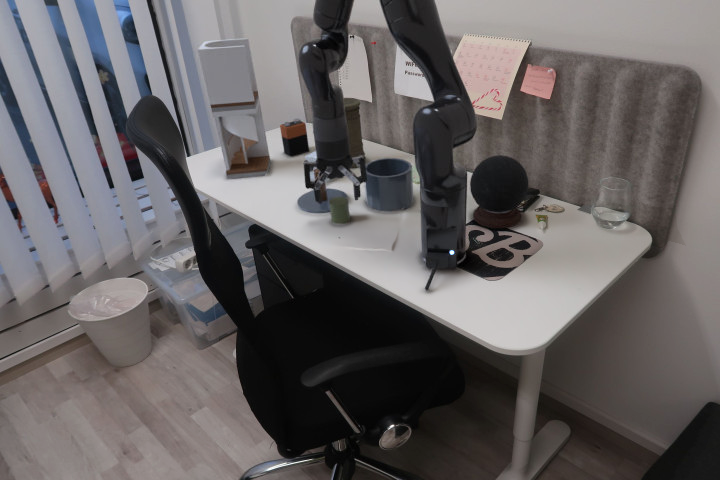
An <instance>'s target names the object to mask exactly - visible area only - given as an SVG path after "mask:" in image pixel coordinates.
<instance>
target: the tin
mask: <svg viewBox="0 0 720 480" xmlns="http://www.w3.org/2000/svg"><path fill="white" fill-rule="evenodd" d="M329 204H330V212H329V213H330V217H331V222H332V223H334V224H336V225H342V224H346V223H348V222H350V221H351V217H350V207H349V198H348V199H347V198H345V197H335V198H332V199H331V200H330V201H329Z"/></svg>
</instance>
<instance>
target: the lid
mask: <svg viewBox="0 0 720 480" xmlns="http://www.w3.org/2000/svg"><path fill="white" fill-rule="evenodd" d="M313 172H314V179H316V178H317V176H318V174H319V172H320V171H319V170H318V169H314V170H313ZM320 193H321V201H322V204H319V202H316V201H315V194H314V190H313V189H312V190H310V191H308V192H304V193H303V194H302V195H301V196H299V197H298V198H297V201H296V203H297V207H298V208H299V209H300V210H301V211H304V212H306V213H310V214H311V213H312V214H324V213H331V212H330V204H329V201H330V200H331V199H332V198H335V197H345V198H347V199H348V200H349V197H348V194H347V193H346V192H345V191H343V190H341V189H337V188H327V182H325V181H324V183H323V184H322V185H321V186H320Z"/></svg>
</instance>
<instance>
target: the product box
mask: <svg viewBox="0 0 720 480" xmlns="http://www.w3.org/2000/svg"><path fill="white" fill-rule="evenodd" d="M316 159H317V156H316V150H314V151H313V152H310V153H308V154H307V155H305V160H308V161H309V162H316ZM314 169H317V168H316V167H314V168H313V170H314ZM310 181H313V182H314V181H315V179H314V172H313V171H312V172H310ZM330 181H332V179H329V178H326V180H325V182H326V183H328V182H330Z"/></svg>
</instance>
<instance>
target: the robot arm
mask: <svg viewBox="0 0 720 480" xmlns="http://www.w3.org/2000/svg"><path fill="white" fill-rule="evenodd" d="M378 1H379V4H380V5H379V6H380V8H381V11H382V14H383V18H384V21H385V23H386V26H387V29H388V32H389V35H391V38H392V40H393V41H394V42H395V44H396V45H397V46H398V48H399V49H400V50H401V51H402V52H403V53H404V54H405V55H406V56H407V58H408V59H409V60H411V62H412V63H413V64H414V65H415V66H416V67H417V68H418V69H419V71H420V72H421V74H422V75H423V77H424V79H425V81H426V83H427V85H428V87H429V91H430V93H431V96H432V100H433V102H430V103H428V104H425V105H422V106H420V108H418V109H417V111H416V112H415V114H414V117H413V121H412V143H413V154H414V164H415V170H416V172H417V174H418V177H419V203H420V205H419V206H420V242H421V253H420V256H421V257H420V258H421V261H422V262H423V263H424V264H425V267H426V268H427V269H431V271H430V274H429V277H428V279H427V281H426V284H425V287H424V290H426V291H429V289H430V287H431V284H432V282H433V280H434V277H435V274H436V271H437V269H440V270H441V269H443V270H457V269H458V267H459V266H461V265H462V264H464V262H465V261H466V257H467V251H466V247H467V245H466V243H467V242H466V241H467V240H466V236H467V234H466V233H467V203H468V202H467V199H468V171H467V169H466V166H464V165H463V164H461V163H459V162H456V161H454V149H456V148H459V147H460V146H464V145H465V144H467V143H468V142H470V141H472V140H473V138H475V136H476V132H477V128H478V121H477V120H478V119H477V114H476V110H475V108H474V105H473V102H472V100H471V97H470V95H469V93H468V90H467V88H466V86H465V83H464V81H463V79H462V77H461V74H460V72H459V70H458V67H457V65H456V62H455V59H454V56H453V53H452V51H451V48H450V45H449V42H448V38H447V35H446V34H445V30H444V27H443V24H442V21H441V18H440V14H439V10H438V7H437V3H436V0H378ZM354 4H355V0H315V2H314V6H313V12H312V20H313V23H314V25H315V26H316V27H318V28H319V29H320V34H319V37H317V38H314V39H311V40H307V41H306V42H304V43H303V44H302V45H301V46H300V48H299V50H298V55H297V63H298V68H299V71H300V75H301V77H302V79H303V82H304V85H305V88H306V90H307V92H308V95H309V98H310V108H311V115H312V134H313V140H314V147H315V148H314V149H315V151H316V156H317V159H316V162H309V161H308V160H306V159H305V160H303V175H304V185H305V186H304V187H305V188H306V189H307V190H309V189H311V190H312V191H313V190H314V194H315V201H316V202H319V204H322V201H321V193H320V186H321V185H322V184H323V183H324V181H325V180H326V178H329V179H331V180H334V179H343V178H344V177H346V178H347V179H348V180H349V181H351V182H352V187H353V196H354V201H358V200H359V198H361V184H364V182H367V180H368V179H367V172H366V162H365V159H364V157H363V155H362V154H360V155H359V156H358V157H353V158H352V157H351V156H350V147H349V136H348V125H347V120H346V115H345V106H344V98H345V96H344V92H343V89H342V87H341V86H340V85H338V84H335V83H332V81H331V77H330V74H332V73H334V72H336V71H339V70H340V69H341V68H342V67H343V66H344V64H345V63H346V61H347V57H348V54H349V39H350V38H349V37H350V35H349V34H350V32H349V24H350V19H351V15H352V12H353V8H354ZM353 163H356V165H357V166H358V167H359V171H360V175H359V176H357V174H356V173H355V172H353V170H352V168H351V166H352V164H353ZM314 167H316V168H317V169H318V170H319V171H320V172H319V174H318V176H317V178H316V179H315V181H314V180H311V179H310V172H312V171H313V168H314ZM358 167H357V168H358Z"/></svg>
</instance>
